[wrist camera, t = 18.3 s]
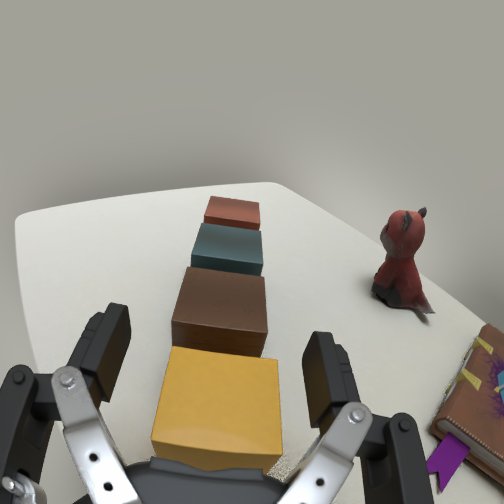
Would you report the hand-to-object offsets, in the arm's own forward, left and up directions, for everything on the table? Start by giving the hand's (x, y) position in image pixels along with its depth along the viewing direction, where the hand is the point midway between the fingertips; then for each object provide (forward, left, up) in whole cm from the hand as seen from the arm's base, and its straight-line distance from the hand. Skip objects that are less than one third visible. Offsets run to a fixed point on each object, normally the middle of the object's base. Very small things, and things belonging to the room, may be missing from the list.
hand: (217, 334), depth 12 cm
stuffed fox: (+29, -1, -11) cm, 31 cm away
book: (+21, -21, -11) cm, 31 cm away
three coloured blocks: (+7, +8, -11) cm, 15 cm away
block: (-1, -2, -11) cm, 11 cm away
